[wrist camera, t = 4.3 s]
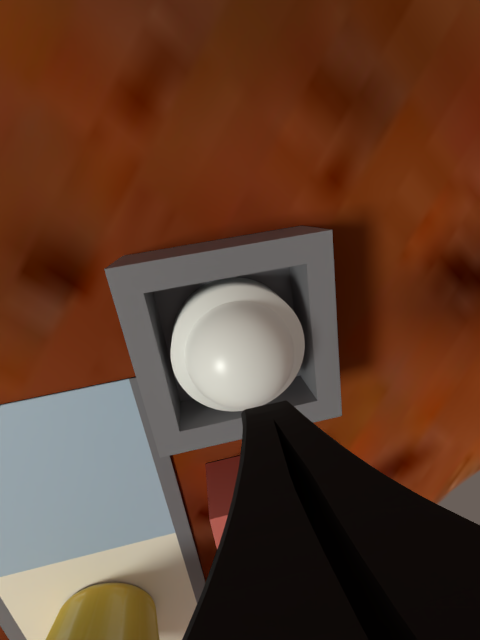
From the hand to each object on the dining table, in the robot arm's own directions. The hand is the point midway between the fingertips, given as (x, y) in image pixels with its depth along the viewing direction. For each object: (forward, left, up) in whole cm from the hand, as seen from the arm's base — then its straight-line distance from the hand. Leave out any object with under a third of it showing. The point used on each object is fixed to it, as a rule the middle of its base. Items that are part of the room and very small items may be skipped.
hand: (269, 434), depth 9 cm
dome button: (0, 0, -8) cm, 8 cm away
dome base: (0, 0, -9) cm, 9 cm away
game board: (+12, +14, -9) cm, 21 cm away
